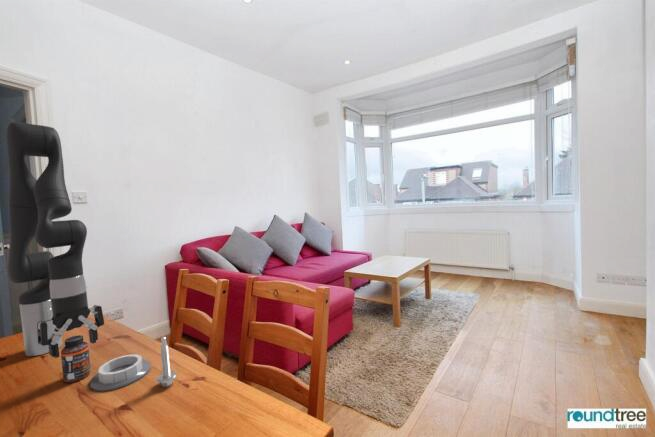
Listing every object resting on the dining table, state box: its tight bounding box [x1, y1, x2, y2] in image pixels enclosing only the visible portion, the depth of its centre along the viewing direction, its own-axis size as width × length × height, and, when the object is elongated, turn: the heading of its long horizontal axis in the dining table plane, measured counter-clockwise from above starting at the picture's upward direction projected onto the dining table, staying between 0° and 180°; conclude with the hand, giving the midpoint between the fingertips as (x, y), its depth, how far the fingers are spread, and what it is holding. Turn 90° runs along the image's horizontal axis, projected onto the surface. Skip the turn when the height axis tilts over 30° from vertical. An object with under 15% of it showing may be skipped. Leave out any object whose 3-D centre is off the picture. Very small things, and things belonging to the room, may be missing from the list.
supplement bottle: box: [60, 334, 91, 383], centre depth 85 cm, size 6×6×11 cm
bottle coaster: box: [89, 354, 152, 392], centre depth 85 cm, size 14×14×3 cm
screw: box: [155, 336, 178, 388], centre depth 79 cm, size 13×5×5 cm
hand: (75, 349), depth 84 cm, fingers open, 8 cm apart
